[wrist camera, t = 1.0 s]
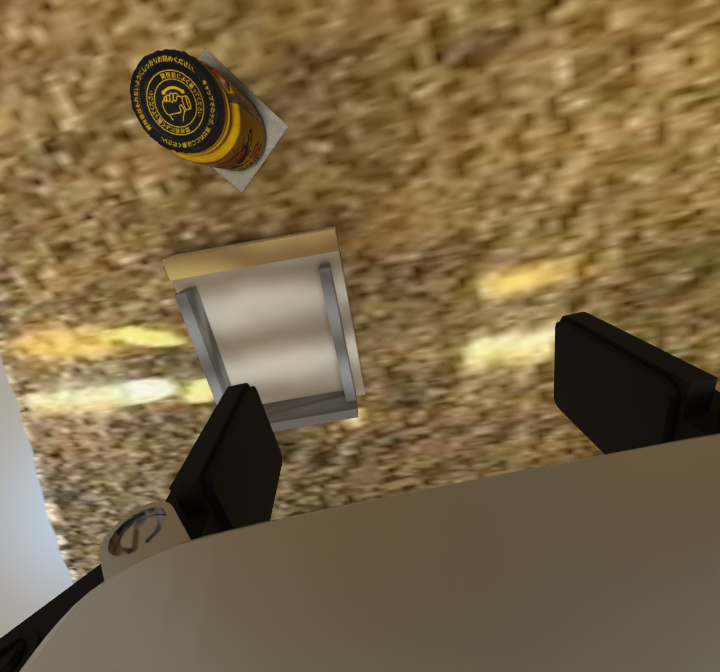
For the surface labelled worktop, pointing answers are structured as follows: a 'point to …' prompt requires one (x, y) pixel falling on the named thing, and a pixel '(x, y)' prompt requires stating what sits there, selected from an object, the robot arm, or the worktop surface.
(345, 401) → the dock
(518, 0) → the worktop surface
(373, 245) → the worktop surface
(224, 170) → the condiment
